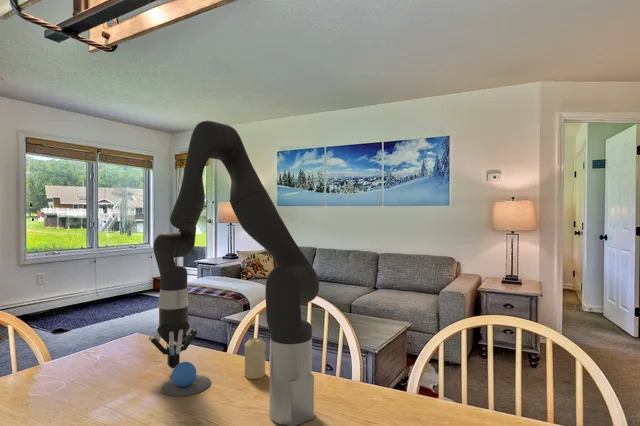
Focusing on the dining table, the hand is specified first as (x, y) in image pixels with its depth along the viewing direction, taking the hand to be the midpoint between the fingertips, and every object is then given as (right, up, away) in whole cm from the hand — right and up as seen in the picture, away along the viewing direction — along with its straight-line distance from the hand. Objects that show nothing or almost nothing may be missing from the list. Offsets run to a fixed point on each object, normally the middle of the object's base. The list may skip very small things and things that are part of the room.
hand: (173, 367), depth 109 cm
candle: (+23, -2, -1) cm, 23 cm away
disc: (+6, -2, -8) cm, 10 cm away
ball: (+6, +1, -8) cm, 10 cm away
